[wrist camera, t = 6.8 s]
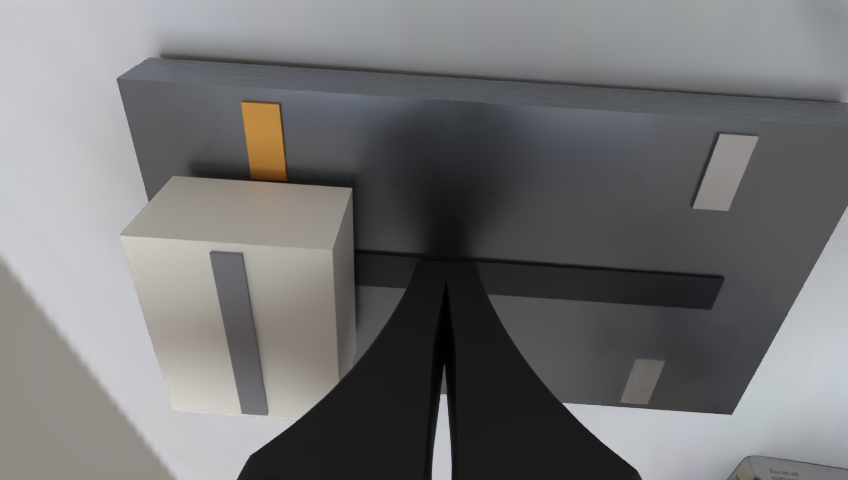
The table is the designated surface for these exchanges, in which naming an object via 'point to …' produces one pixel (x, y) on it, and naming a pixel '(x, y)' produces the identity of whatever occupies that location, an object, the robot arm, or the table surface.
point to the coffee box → (784, 470)
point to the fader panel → (538, 206)
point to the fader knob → (246, 293)
